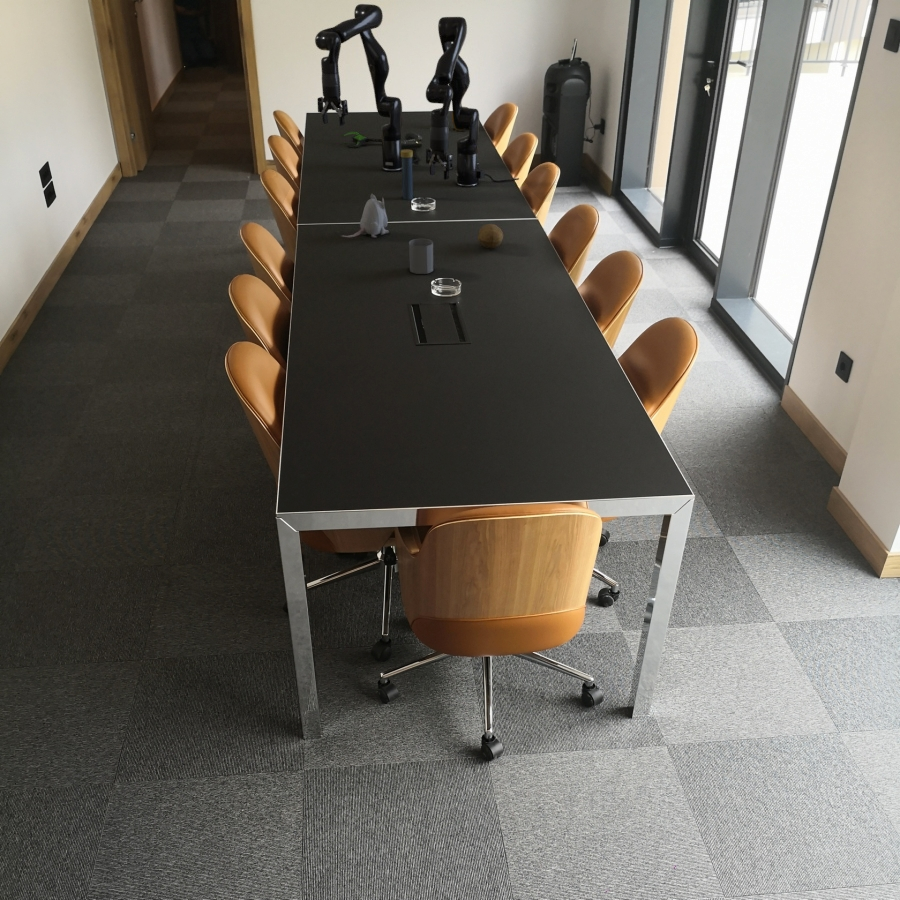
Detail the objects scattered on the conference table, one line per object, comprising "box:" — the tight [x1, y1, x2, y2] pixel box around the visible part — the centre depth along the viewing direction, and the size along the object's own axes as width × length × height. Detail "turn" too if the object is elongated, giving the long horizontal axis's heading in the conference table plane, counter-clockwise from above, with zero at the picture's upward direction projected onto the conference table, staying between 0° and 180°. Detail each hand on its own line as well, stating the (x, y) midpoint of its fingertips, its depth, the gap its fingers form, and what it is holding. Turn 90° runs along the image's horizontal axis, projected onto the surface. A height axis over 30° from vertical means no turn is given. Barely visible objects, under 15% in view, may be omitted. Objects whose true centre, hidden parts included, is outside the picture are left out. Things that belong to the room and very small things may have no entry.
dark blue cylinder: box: [401, 157, 414, 201], centre depth 376 cm, size 4×4×20 cm
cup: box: [408, 237, 434, 275], centre depth 305 cm, size 8×8×10 cm
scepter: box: [342, 131, 382, 148], centre depth 461 cm, size 6×13×30 cm
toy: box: [341, 193, 390, 239], centre depth 333 cm, size 9×24×15 cm, turn 137°
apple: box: [451, 106, 468, 132], centre depth 487 cm, size 11×11×13 cm
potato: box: [477, 223, 504, 249], centre depth 326 cm, size 10×14×8 cm
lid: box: [401, 149, 414, 158], centre depth 371 cm, size 5×5×2 cm
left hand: (333, 124), depth 373 cm, fingers open, 8 cm apart
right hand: (439, 177), depth 359 cm, fingers open, 8 cm apart
